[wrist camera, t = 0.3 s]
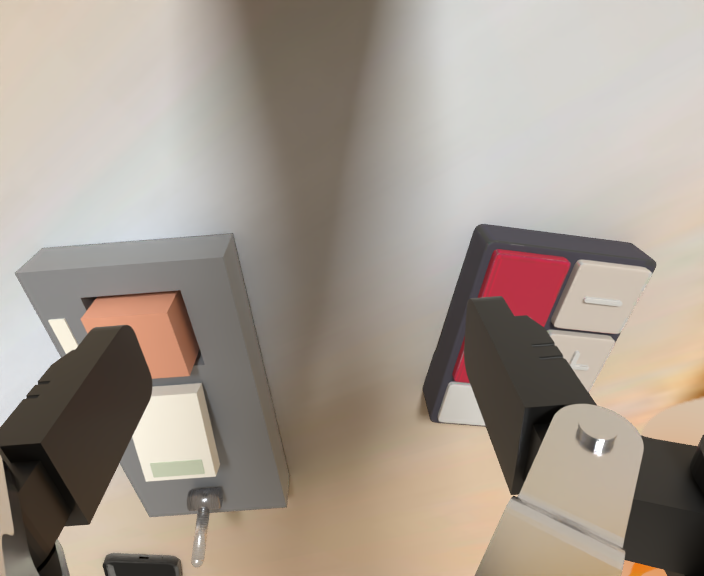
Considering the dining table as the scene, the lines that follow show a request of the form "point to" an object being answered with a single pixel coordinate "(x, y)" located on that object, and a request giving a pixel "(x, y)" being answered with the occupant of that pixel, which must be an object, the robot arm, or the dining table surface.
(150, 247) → the panel
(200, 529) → the toggle lever
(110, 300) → the push button
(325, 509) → the dining table surface
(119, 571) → the phone
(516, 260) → the calculator
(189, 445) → the white slab
